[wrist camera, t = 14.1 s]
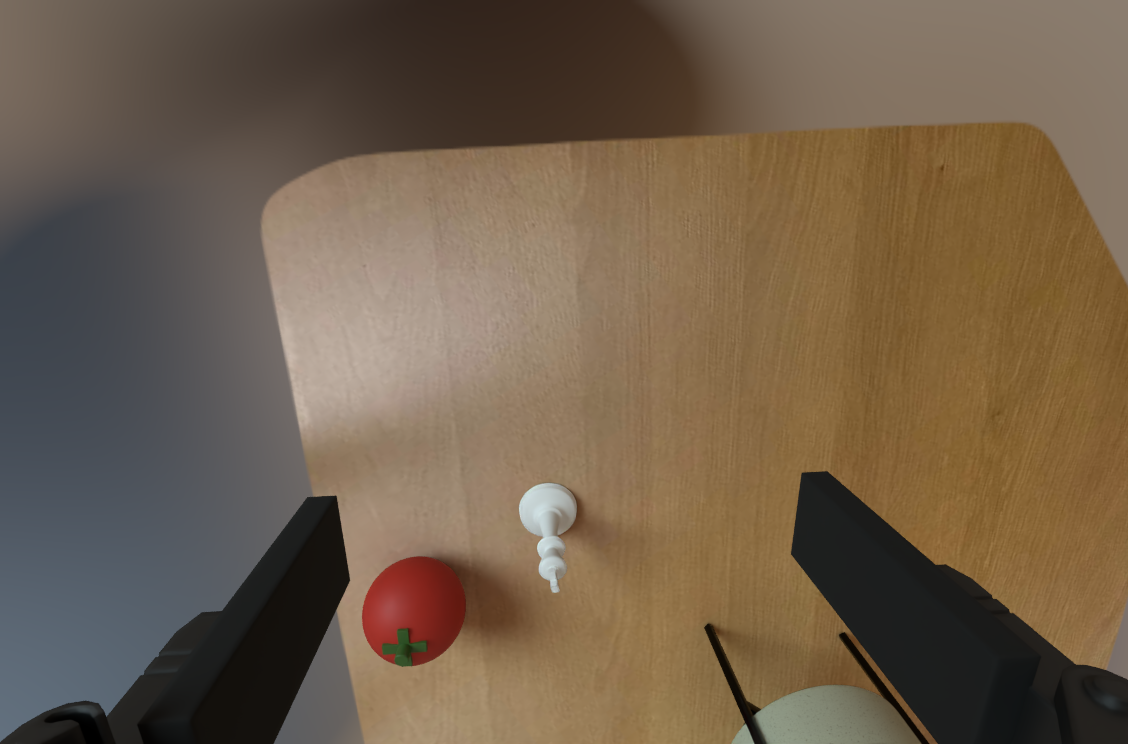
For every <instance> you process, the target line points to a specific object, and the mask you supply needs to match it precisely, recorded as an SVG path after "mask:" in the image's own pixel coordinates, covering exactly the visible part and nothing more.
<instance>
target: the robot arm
mask: <svg viewBox="0 0 1128 744" xmlns="http://www.w3.org/2000/svg"><path fill="white" fill-rule="evenodd" d="M791 555H792V556H793V557H794V558H795V560H796V561H797V562H798V564H799V565H800V566H801V568H802V569H803V570H804V571H805V573H806V574H807V575H808V577H809V578H810V579H811V580H812V582H813V583H814V584H815V586H816V587H817V588H818V589H819V591H820V592H821V593H822V595H823V596H824V597H825V598H826V600H827V601H828V602H829V604H830V605H831V606H832V608H833V609H834V610H835V611H836V613H837V614H838V615H839V617H840V618H841V619H842V620H843V622H844V623H845V624H846V626H847V627H848V628H849V629H850V631H851V632H852V633H853V635H854V636H855V637H856V638H857V640H858V641H859V642H860V644H861V645H862V646H863V647H864V649H865V650H866V651H867V653H868V654H869V655H870V657H871V658H872V659H873V660H874V662H875V663H876V664H877V666H878V667H879V668H880V669H881V671H882V672H883V673H884V675H885V676H886V677H887V678H888V680H889V681H890V682H891V684H892V685H893V686H894V687H895V689H896V690H897V691H898V693H899V694H900V695H901V697H902V698H903V699H904V700H905V702H906V703H907V704H908V706H909V707H910V708H911V709H912V711H913V712H914V713H915V715H916V716H917V717H918V718H919V720H920V721H921V722H922V724H923V725H924V726H925V727H926V729H927V730H928V731H929V733H930V734H931V735H932V736H933V738H934V739H935V740H936V742H937V743H938V744H1128V680H1127V679H1125V678H1123V677H1120V676H1118V675H1116V674H1113V673H1111V672H1109V671H1107V670H1104V669H1100V668H1096V667H1092V666H1088V665H1076V664H1074V663H1073V662H1072V661H1071V660H1070V659H1068V658H1067V657H1066V656H1065V655H1064V654H1062V653H1061V652H1060V651H1059V650H1057V649H1056V648H1055V647H1054V646H1053V645H1051V644H1050V643H1049V642H1048V641H1047V640H1045V639H1044V638H1043V637H1042V636H1040V635H1039V634H1038V633H1037V632H1036V631H1034V630H1033V629H1032V628H1031V627H1030V626H1028V625H1027V624H1026V623H1025V622H1024V621H1022V620H1021V619H1020V618H1019V617H1017V616H1016V615H1015V614H1014V613H1010V612H1009V609H1008V608H1007V607H1005V606H1004V605H1003V604H1002V603H1000V602H999V601H998V600H997V599H993V598H992V595H991V594H990V593H988V592H987V591H986V590H985V589H984V588H982V587H981V586H980V585H979V584H977V583H976V582H975V581H974V580H973V579H971V578H970V577H968V576H966V575H964V574H962V573H960V572H958V571H957V570H955V569H953V568H951V567H949V566H947V565H946V564H944V565H935V564H934V563H933V562H932V561H930V560H929V559H928V558H927V557H926V556H925V555H924V554H922V553H921V552H920V551H919V550H918V549H917V548H915V547H914V546H913V545H912V544H911V543H910V542H908V541H907V540H906V539H905V538H904V537H903V536H902V535H900V534H899V533H898V532H897V531H896V530H895V529H893V528H892V527H891V526H890V525H889V524H888V523H886V522H885V521H884V520H883V519H882V518H881V517H880V516H878V515H877V514H876V513H875V512H874V511H873V510H871V509H870V508H869V507H868V506H867V505H866V504H864V503H863V502H862V501H861V500H860V499H859V498H858V497H856V496H855V495H854V494H853V493H852V492H851V491H849V490H848V489H847V488H846V487H845V486H844V485H842V484H841V483H840V482H839V481H838V480H837V479H836V478H834V477H833V476H832V475H831V474H830V473H829V472H827V471H825V472H805V473H802V475H801V482H800V490H799V497H798V505H797V512H796V520H795V527H794V535H793V543H792V550H791ZM349 582H350V577H349V570H348V564H347V558H346V552H345V546H344V539H343V533H342V527H341V521H340V515H339V508H338V502H337V496H321V497H307V499H306V500H305V501H304V503H303V504H302V505H301V507H300V508H299V509H298V511H297V512H296V514H295V515H294V516H293V517H292V519H291V520H290V521H289V523H288V524H287V525H286V527H285V528H284V529H283V531H282V532H281V533H280V535H279V536H278V537H277V539H276V540H275V541H274V543H273V544H272V545H271V547H270V548H269V549H268V551H267V552H266V553H265V555H264V556H263V557H262V559H261V560H260V562H259V563H258V564H257V565H256V567H255V568H254V569H253V571H252V572H251V574H250V575H249V576H248V577H247V579H246V580H245V581H244V583H243V584H242V585H241V586H240V588H239V589H238V590H237V592H236V593H235V595H234V596H233V597H232V599H231V600H230V601H229V602H228V604H227V605H226V607H225V608H224V609H223V611H217V612H202V613H201V614H199V615H198V616H197V617H195V618H194V619H193V620H191V621H190V622H189V623H188V624H186V625H185V626H183V627H182V628H181V629H180V630H178V631H177V632H176V633H175V634H174V635H173V637H172V638H171V639H170V640H169V642H168V643H167V644H166V645H165V646H164V648H163V649H162V650H161V651H160V653H159V656H158V657H156V658H155V659H154V660H153V661H152V662H151V664H150V665H149V666H148V667H147V668H146V670H145V671H144V675H141V676H140V677H139V678H138V679H137V681H136V682H135V683H134V684H133V685H132V687H131V688H130V689H129V690H128V692H127V693H126V694H125V695H124V696H123V698H122V699H121V700H120V701H119V702H118V704H117V705H116V706H115V707H114V708H113V710H112V711H111V712H110V713H109V715H108V716H107V717H106V715H105V712H104V710H103V709H102V708H101V706H100V705H99V704H98V703H93V702H89V701H81V702H74V703H68V704H65V705H62V706H59V707H57V708H54V709H51V710H49V711H46V712H44V713H42V714H40V715H39V716H37V717H35V718H33V719H31V720H30V721H28V722H26V723H24V724H23V725H21V726H20V727H19V728H17V729H16V730H15V731H14V732H12V733H11V734H10V735H8V736H7V737H6V738H5V739H3V740H2V741H1V742H0V744H274V741H275V739H276V738H277V735H278V733H279V731H280V729H281V727H282V725H283V723H284V720H285V718H286V716H287V714H288V712H289V710H290V708H291V705H292V703H293V701H294V699H295V697H296V695H297V693H298V690H299V688H300V686H301V684H302V682H303V680H304V678H305V676H306V673H307V671H308V669H309V667H310V665H311V663H312V661H313V658H314V656H315V654H316V652H317V650H318V648H319V645H320V643H321V641H322V639H323V637H324V635H325V633H326V631H327V629H328V626H329V624H330V622H331V620H332V618H333V616H334V614H335V612H336V609H337V607H338V605H339V603H340V601H341V599H342V597H343V594H344V592H345V590H346V588H347V586H348V584H349Z"/></svg>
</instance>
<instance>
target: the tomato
mask: <svg viewBox="0 0 1128 744" xmlns="http://www.w3.org/2000/svg"><path fill="white" fill-rule="evenodd" d="M465 612H466V599H465V593H464V589H463V586H462V584H461V582H460V580H459V578H458V577H457V575H456V574H455V572H454V571H453V570H452V569H451V568H450V567H448V566H447V565H446V564H444V563H443V562H441V561H439V560H436V559H433V558H429V557H410V558H406V559H403V560H400V561H398V562H396V563H394V564H392V565H391V566H389V567H388V568H386V569H385V570H384V571H383V572H382V573H381V574H380V575H379V576H378V577H377V578H376V579H375V581H374V582H373V584H372V585H371V587H370V589H369V591H368V593H367V595H366V598H365V601H364V605H363V612H362V622H363V629H364V633H365V636H366V639H367V641H368V643H369V644H370V646H371V648H372V649H373V650H374V651H375V652H376V653H377V654H378V655H379V656H380V657H382V658H383V659H384V660H386V661H388V662H390V663H393V664H396V665H399V666H401V667H403V666H416V665H420V664H424V663H427V662H429V661H431V660H433V659H435V658H437V657H438V656H440V655H441V654H442V653H444V652H445V651H446V650H447V649H448V648H449V647H450V646H451V644H452V643H453V642H454V640H455V639H456V637H457V636H458V634H459V632H460V630H461V627H462V625H463V622H464V618H465Z"/></svg>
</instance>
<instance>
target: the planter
mask: <svg viewBox="0 0 1128 744" xmlns="http://www.w3.org/2000/svg"><path fill="white" fill-rule="evenodd" d="M704 628H705V631H706V633H707V635H708V638H709V640H710V642H711V645H712V647H713V649H714V651H715V654H716V656H717V658H718V661H719V663H720V665H721V668H722V670H723V672H724V675H725V677H726V679H727V682H728V684H729V686H730V688H731V691H732V693H733V695H734V698H735V700H736V702H737V705H738V707H739V709H740V712H741V714H742V716H743V719H744V721H745V724H744V726H743V727H742V728H741V729H740V731H739V732H738V733H737V735H736V736H735V738H734V740H733V741H732V743H731V744H929V743H928V741H927V740H926V739H925V737H924V736H923V735H922V733H921V732H920V731H919V730H918V728H917V727H916V726H915V724H914V723H913V722H912V720H911V719H910V718H909V716H908V715H907V714H906V712H905V711H904V710H903V708H902V707H901V706H900V704H899V703H898V702H897V701H896V699H895V698H894V697H893V695H892V694H891V693H890V691H889V690H888V689H887V687H886V686H885V685H884V683H883V682H882V681H881V679H880V678H879V677H878V676H877V674H876V673H875V672H874V670H873V669H872V668H871V666H870V665H869V664H868V662H867V661H866V660H865V658H864V657H863V656H862V654H861V653H860V652H859V651H858V649H857V648H856V647H855V645H854V644H853V643H852V641H851V640H850V639H849V637H848V636H847V635H846V633H845V632H844V633H842V634H839V637H840V639H841V641H842V642H843V643H844V645H845V646H846V647H847V649H848V650H849V651H850V653H851V654H852V656H853V657H854V658H855V660H856V661H857V662H858V664H859V665H860V666H861V668H862V669H863V670H864V672H865V673H866V675H867V676H868V677H869V679H870V680H871V681H872V683H873V684H874V685H875V687H876V688H877V689H878V691H879V692H880V694H881V695H882V696H883V697H881V696H880V695H878V694H876V693H874V692H871V691H869V690H866V689H863V688H859V687H855V686H848V685H824V686H817V687H811V688H807V689H803V690H800V691H796V692H794V693H791V694H788V695H786V696H784V697H782V698H780V699H778V700H776V701H774V702H772V703H770V704H769V705H767V706H766V707H764V708H763V709H760V708H758V707H756V706H755V705H753V704H751V703H750V702H748V701H746V698H745V696H744V694H743V692H742V690H741V687H740V685H739V683H738V681H737V679H736V676H735V674H734V672H733V670H732V668H731V665H730V663H729V661H728V659H727V657H726V654H725V652H724V650H723V648H722V646H721V643H720V641H719V639H718V637H717V635H716V632H715V630H714V628H713V626H711V625H710V624H707V625H706V626H705V627H704Z"/></svg>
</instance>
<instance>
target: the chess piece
mask: <svg viewBox="0 0 1128 744" xmlns="http://www.w3.org/2000/svg"><path fill="white" fill-rule="evenodd" d="M519 513H520V517H521V521H522V523H523V525H524V526H525V527H526V529H527V530H529V531H530V532H531V533H533V534H535V535H538V536H541V537H543V539H542V540H541V541H540V542H539V543H538V546H537V551H538V554H539V555H540V557H541V558H542V560H541V562H540V565H539V573H540V575H541V576H542V577H543V578H544V579H546V580H549V581H550V585H551V590H552V592H553V593H555V592H559V585H558V581H557V580H559V579H561V578H562V577H563V576H564V575H565V574H566V571H567V564H566V562H565V560H564V559H563V558H562V556H563V554H564V552H565V543H564V541H563V540H562V539H561V538H559V537H558V535H560V534H562V533H564V532H565V531H567V530H568V529H569V528H570V527H571V526H572V524H573V523H574V521H575V518H576V513H577V504H576V500H575V498H574V496H573V494H572V493H571V492H570V491H569V490H568V489H567V488H565V487H563V486H561V485H559V484H555V483H543V484H539V485H537V486H534V487H533V488H531V489H530V490H528V491H527V492H526V493H525V494H524V496H523V497H522V499H521V502H520V506H519Z"/></svg>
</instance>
